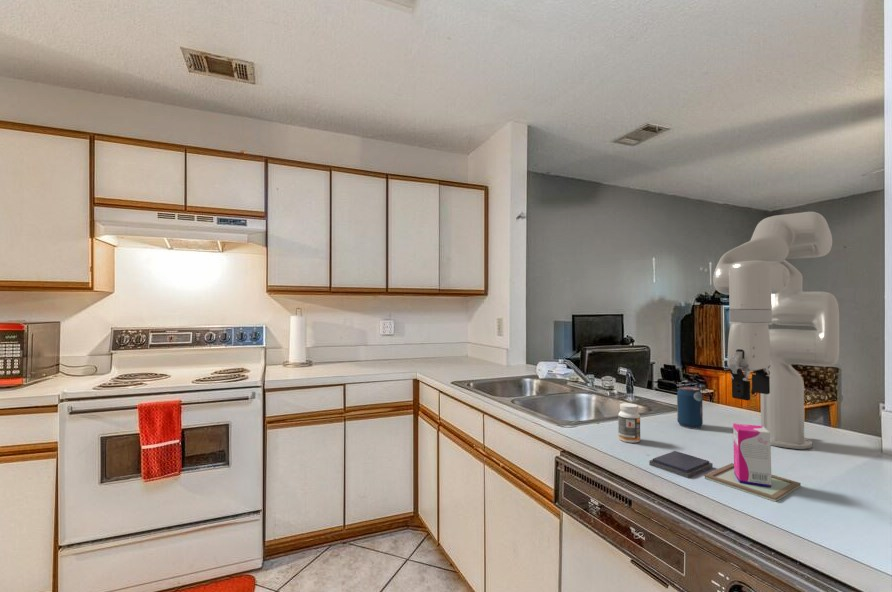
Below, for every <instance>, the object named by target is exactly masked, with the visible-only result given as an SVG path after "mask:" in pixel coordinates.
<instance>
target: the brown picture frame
mask: <svg viewBox="0 0 892 592" xmlns="http://www.w3.org/2000/svg"><path fill="white" fill-rule="evenodd" d="M704 479H705V480H708V481H712V482H715V483H718V484H721V485H722V486H723V485H724V486H727V487H730V488H733V489H736V490H739V491H742V492H744V493H747V494H751V495H754V496H756V497H760V498H763V499H766V500H770V501H772V502H778V501H779V500H781V499H783V498H784V497H785V496H787V495H790V494H791V493H793V492H794V491H795V490H797V489H798V488H801V486H802V485H801V483H802V482H798V481H796V480H792V479H790V478H789V479H788V478H785V477H781V476H778V475H774V474H772V473H771V480H772V487H771V488H770V487H764V486H757V485H750V484H744V483H739V481H738V479H737V477H736V475H735V474H734V462H731V463H729V464H726V465H725V466H722V467H720V468H718V469H715V470H713V471H711V472H709V473H706V474H704Z"/></svg>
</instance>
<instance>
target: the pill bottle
mask: <svg viewBox="0 0 892 592" xmlns="http://www.w3.org/2000/svg"><path fill="white" fill-rule="evenodd" d="M619 409H620V411H619V412H618V419H617V420H618V422H617V425H618V429H617V430H618V432H617V433H618V439H619V440H620V441H621V442H625V443H629V444H630V443H633V444H636V443H639V442H640V441H641V415H640V413H639V412H638V411H639V406H638V405H637V404H635V403H628V402H626V403H625V402H624V403H620V404H619Z"/></svg>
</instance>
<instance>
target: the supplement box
mask: <svg viewBox="0 0 892 592" xmlns="http://www.w3.org/2000/svg"><path fill="white" fill-rule="evenodd" d="M732 428H733V429H732V432H733V435H732V437H733V439H732V440H733V464H734V474H735V475H736V477H737V479H738V481H739V483H744V484H750V485H757V486H764V487H770V488H771V487H772V480H771V474H772V452H771V451H772V448H771V446H772V445H771V444H770V432H769V431H768V430H766V429H765V428H764V427H763V426H761V425H754V424H753V425H752V424H746V423H745V424H744V423H743V424H742V423H733V425H732Z"/></svg>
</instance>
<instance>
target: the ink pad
mask: <svg viewBox="0 0 892 592" xmlns="http://www.w3.org/2000/svg"><path fill="white" fill-rule="evenodd" d="M648 463H649V466H651V467H655V468H658V469H660V470H664V471H667V472H669V473H673V474H676V475H678V476H681V477H684V478H687V479H689V478H691V477H695V476H696V475H698V474H701V473H704V472H706V471H708V470H711V469H713V462H710V460H708V459H703V458H701V457H697V456H693V455H690V454H686V453H683V452H680V451H677V450H674V451H670V452H669V453H666V454H662V455H660V456H655V457H654V458H652V459H650V460H649V461H648Z"/></svg>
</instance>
